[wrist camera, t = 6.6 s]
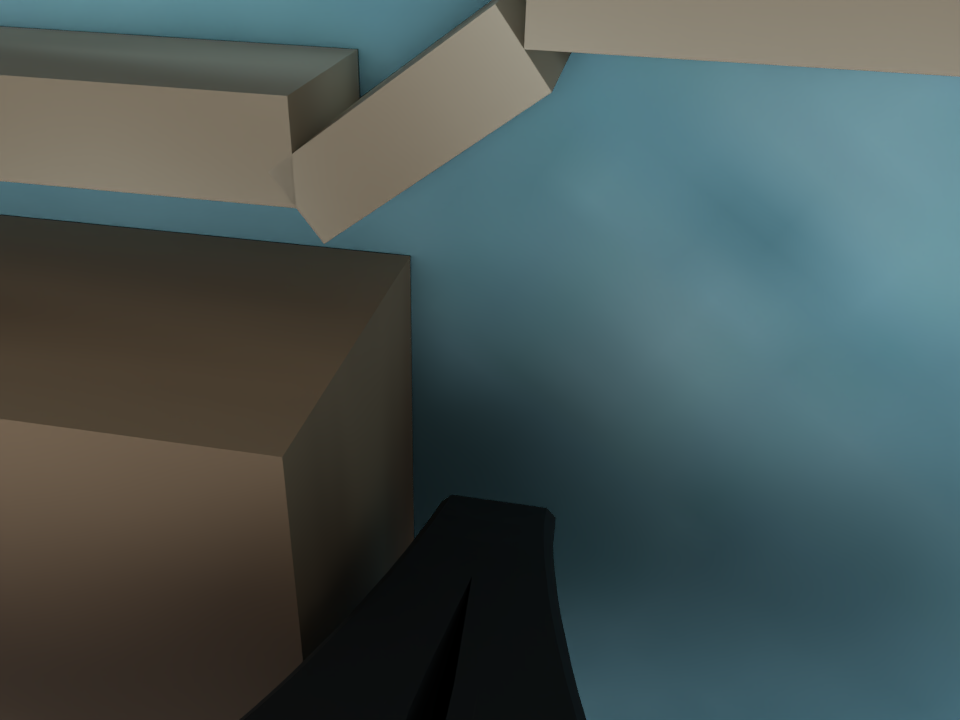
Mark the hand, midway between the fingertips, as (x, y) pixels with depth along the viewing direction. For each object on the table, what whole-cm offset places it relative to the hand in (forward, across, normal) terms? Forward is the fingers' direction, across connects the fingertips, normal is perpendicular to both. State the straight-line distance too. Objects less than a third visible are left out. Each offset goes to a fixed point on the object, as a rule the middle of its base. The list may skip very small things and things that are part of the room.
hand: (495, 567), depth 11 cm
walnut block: (+1, +5, 0) cm, 5 cm away
